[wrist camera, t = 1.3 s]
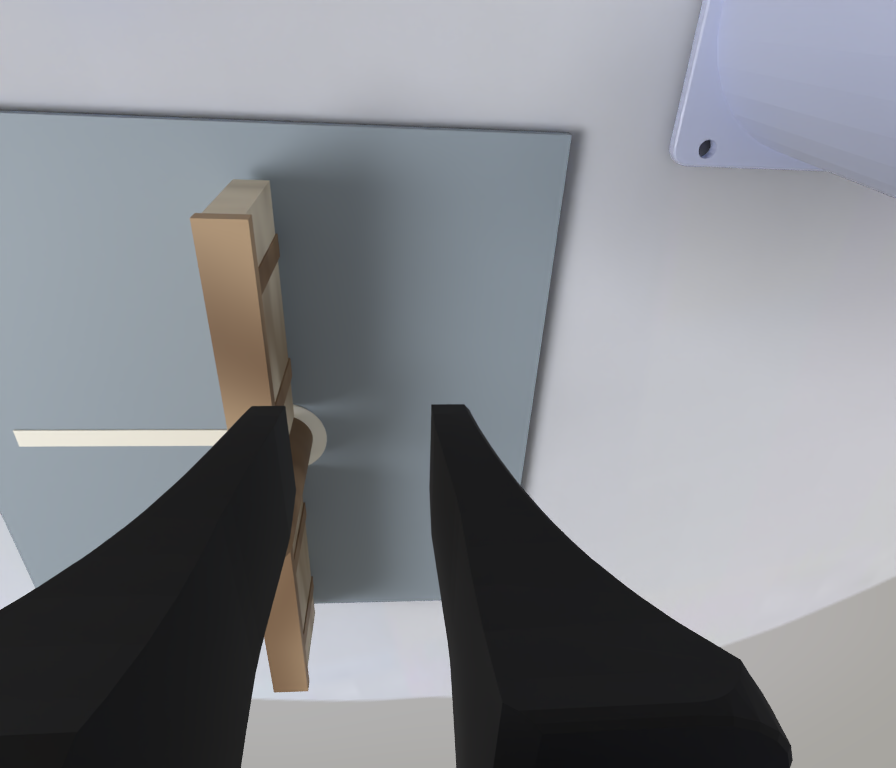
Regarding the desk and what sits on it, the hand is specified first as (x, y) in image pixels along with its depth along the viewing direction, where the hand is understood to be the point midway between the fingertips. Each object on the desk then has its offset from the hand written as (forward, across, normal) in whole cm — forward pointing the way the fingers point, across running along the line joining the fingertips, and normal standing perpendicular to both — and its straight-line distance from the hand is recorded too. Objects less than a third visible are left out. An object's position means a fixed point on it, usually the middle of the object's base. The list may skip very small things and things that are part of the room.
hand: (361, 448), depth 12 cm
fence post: (+9, +4, +11) cm, 15 cm away
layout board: (+9, +4, +6) cm, 12 cm away
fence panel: (+9, +3, +1) cm, 9 cm away
